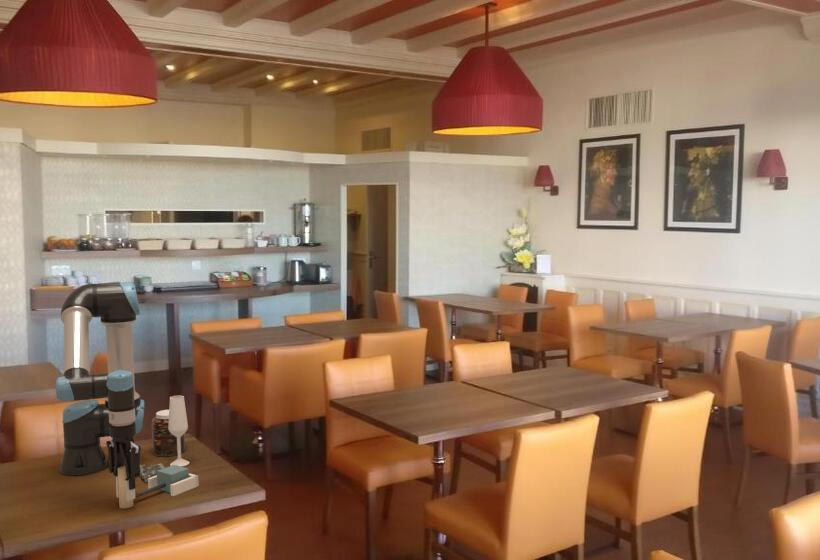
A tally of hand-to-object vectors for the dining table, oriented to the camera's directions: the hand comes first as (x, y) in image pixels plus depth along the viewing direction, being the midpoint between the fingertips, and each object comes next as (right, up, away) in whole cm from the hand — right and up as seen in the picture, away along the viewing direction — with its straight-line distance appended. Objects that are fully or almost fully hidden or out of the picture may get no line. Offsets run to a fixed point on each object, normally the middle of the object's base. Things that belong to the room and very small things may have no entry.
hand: (126, 497), depth 237 cm
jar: (-3, +2, +52) cm, 52 cm away
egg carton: (0, -1, +26) cm, 26 cm away
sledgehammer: (+5, -2, +8) cm, 10 cm away
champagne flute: (+5, +1, +39) cm, 39 cm away
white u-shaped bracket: (+10, -1, +15) cm, 18 cm away
